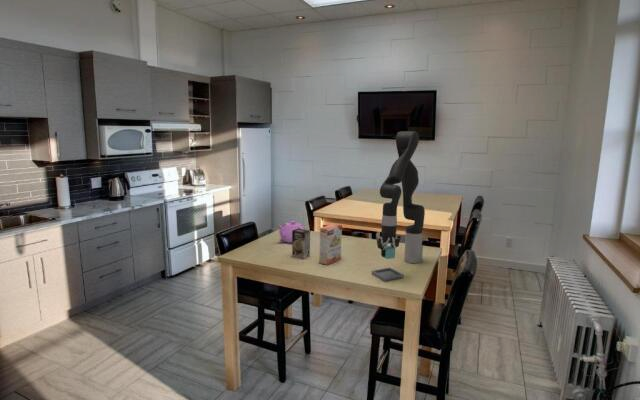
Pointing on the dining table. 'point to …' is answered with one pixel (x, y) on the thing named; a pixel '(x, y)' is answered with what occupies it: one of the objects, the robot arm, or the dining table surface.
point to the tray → (387, 274)
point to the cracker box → (330, 243)
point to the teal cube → (389, 252)
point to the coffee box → (301, 243)
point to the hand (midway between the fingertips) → (387, 255)
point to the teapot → (288, 230)
